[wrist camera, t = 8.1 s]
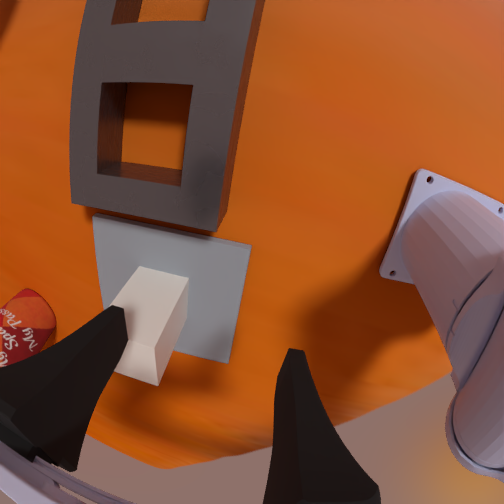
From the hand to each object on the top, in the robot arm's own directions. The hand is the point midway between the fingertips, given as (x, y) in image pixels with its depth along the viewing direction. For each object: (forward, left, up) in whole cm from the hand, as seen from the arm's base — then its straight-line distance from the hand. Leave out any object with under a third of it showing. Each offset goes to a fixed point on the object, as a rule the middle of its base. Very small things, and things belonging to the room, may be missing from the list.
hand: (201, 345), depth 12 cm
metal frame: (+6, -12, -9) cm, 16 cm away
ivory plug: (+5, +5, -9) cm, 11 cm away
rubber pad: (+5, +6, -9) cm, 12 cm away
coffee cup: (+22, +14, -10) cm, 28 cm away
